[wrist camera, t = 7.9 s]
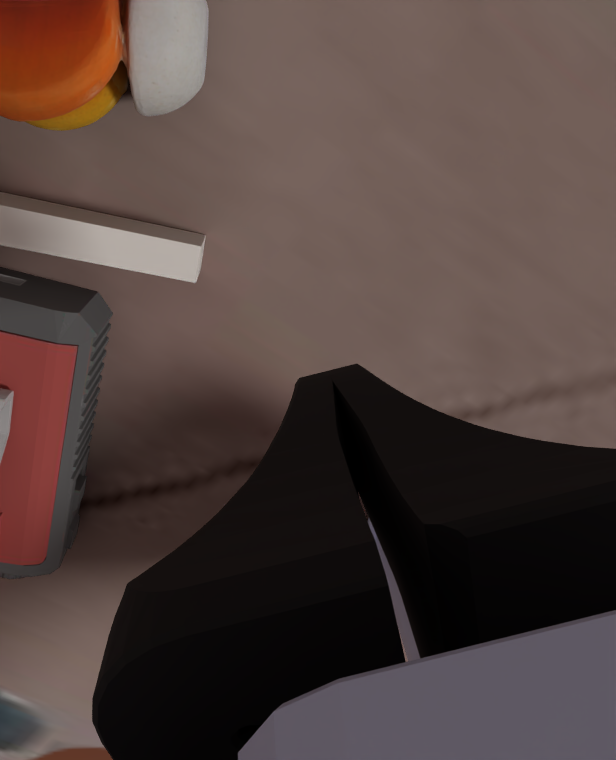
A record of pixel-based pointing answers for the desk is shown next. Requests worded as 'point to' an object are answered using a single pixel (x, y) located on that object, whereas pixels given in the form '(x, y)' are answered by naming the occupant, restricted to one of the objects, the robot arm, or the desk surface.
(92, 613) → the desk surface
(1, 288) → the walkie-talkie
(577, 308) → the desk surface
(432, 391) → the desk surface
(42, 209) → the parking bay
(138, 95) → the colorful petals pebble cluster
